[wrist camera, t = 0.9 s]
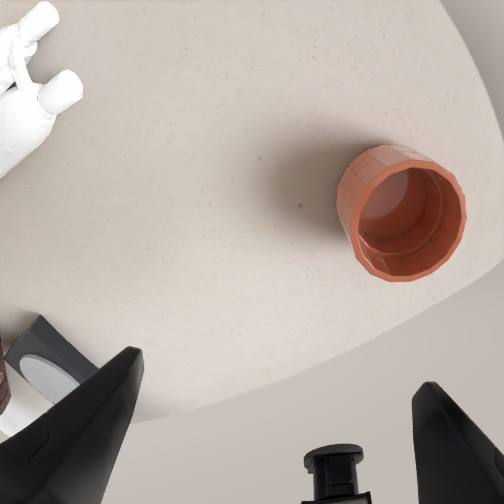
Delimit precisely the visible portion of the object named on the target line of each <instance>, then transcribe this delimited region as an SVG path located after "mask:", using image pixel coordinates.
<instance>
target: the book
mask: <svg viewBox="0 0 504 504" xmlns="http://www.w3.org/2000/svg"><path fill="white" fill-rule="evenodd" d="M10 398H11V395H10V390H9V386H8V381H7V376H6V371H5V365H4V359H3V353H2V346H1V338H0V415H1V414H2V413H3V412H4V410H5V408H6V407H7V405H8V403H9V400H10Z"/></svg>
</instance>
